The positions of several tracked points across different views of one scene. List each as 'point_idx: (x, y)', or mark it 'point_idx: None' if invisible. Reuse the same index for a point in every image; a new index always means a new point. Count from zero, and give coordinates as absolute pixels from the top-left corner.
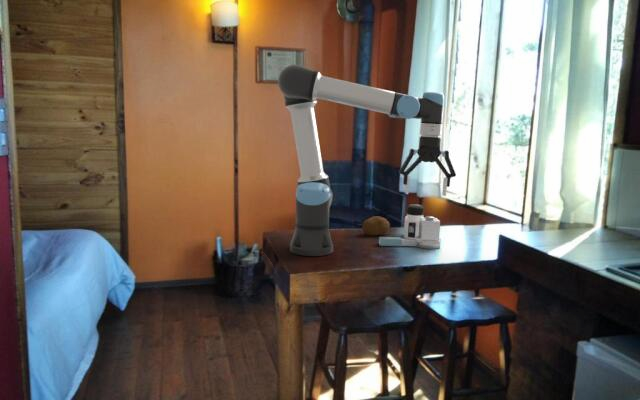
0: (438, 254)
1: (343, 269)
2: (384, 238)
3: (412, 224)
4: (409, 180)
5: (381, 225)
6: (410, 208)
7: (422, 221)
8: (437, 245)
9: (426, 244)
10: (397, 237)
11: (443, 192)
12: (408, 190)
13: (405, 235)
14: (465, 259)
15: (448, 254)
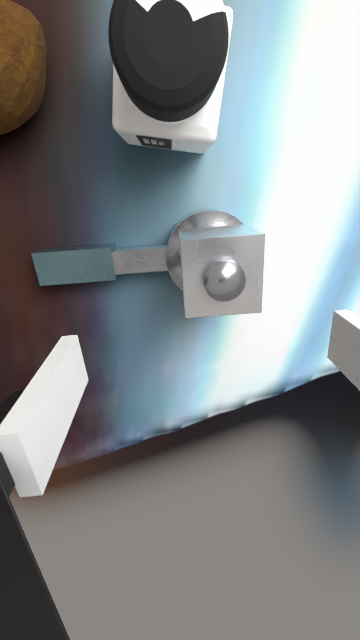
0: (223, 340)
1: None
2: (53, 276)
3: (155, 138)
4: (56, 459)
5: (4, 117)
6: (132, 95)
7: (185, 315)
8: None
9: None
10: (98, 250)
11: (341, 350)
12: (79, 397)
13: (131, 143)
14: (284, 371)
15: (252, 334)
